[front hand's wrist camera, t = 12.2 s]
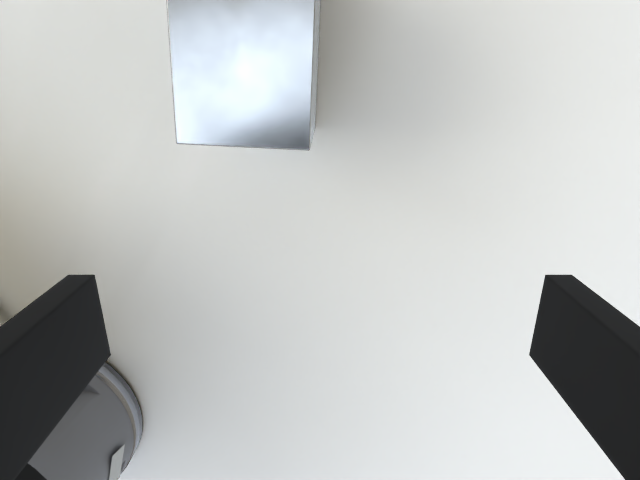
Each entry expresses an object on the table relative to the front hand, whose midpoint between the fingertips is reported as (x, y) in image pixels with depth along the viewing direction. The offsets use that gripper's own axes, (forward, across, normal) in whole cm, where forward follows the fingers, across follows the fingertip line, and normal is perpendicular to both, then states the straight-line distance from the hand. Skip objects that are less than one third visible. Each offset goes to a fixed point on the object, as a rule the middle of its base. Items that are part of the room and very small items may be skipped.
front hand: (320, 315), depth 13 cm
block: (+18, -3, +8) cm, 20 cm away
